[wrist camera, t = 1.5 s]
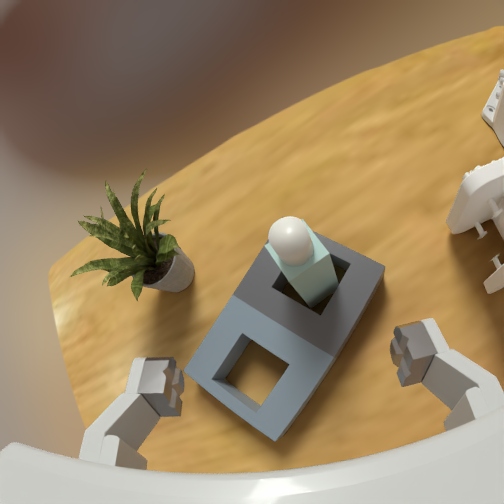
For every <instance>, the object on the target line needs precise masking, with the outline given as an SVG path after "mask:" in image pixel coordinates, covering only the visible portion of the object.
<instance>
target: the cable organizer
mask: <svg viewBox="0 0 504 504" xmlns="http://www.w3.org/2000/svg"><path fill="white" fill-rule="evenodd" d="M470 173H471V174H469V173H468V172H466V173H465V174H464V176H463V182H462V183H461V185H460V188H459V190H458V193H457V195H456V198H455V200H454V203H453V205H452V208H451V210H450V212H449V215H448V217H447V219H446V223H447V225H448V227H449V229H450V230H451V232H452V234H459V233H462V232H465V231H467V230H469V229H471V228H473V227H476V229H477V231H478V233H479V234H480V237H479V238H482V237H483V236H484V235H486V234H487V233H488V232H487V231H486V232H484V230H483V228H482V226H481V223H483V222H485V221H487V220H489V219H492V220H493V222H494V223H495V225H496V227H497V229H498V231H499V233H500V235H501V237H502V238H503V240H504V157H503V158H502V159H499V160H498V161H496V160H495V161H494V160H493V161H492V162H491V164H489V163H488V164H487V165H486V166H485V165H484V166H482V167H480V165H478V166H476V167H475V169H474V171H473V170H472V171H470ZM479 238H478V239H479ZM498 256H500V255H499V254H498V255H496V256H495V257H493V259H492V260H493V262H494V265H495V267H496V269H497V270H496V271H495V272H494V273H493V274H492V275H491V276H490V277H488V278H487V279H486V280H485V281H484V283H483V284H484V286H485V289H486V291H487V293H488V294H491V293H494V292H496V291H498V290H500V289H502V288H503V287H504V264H503V265H502V266H501V264H500V261H499V259H498ZM492 260H491V261H492Z"/></svg>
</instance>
